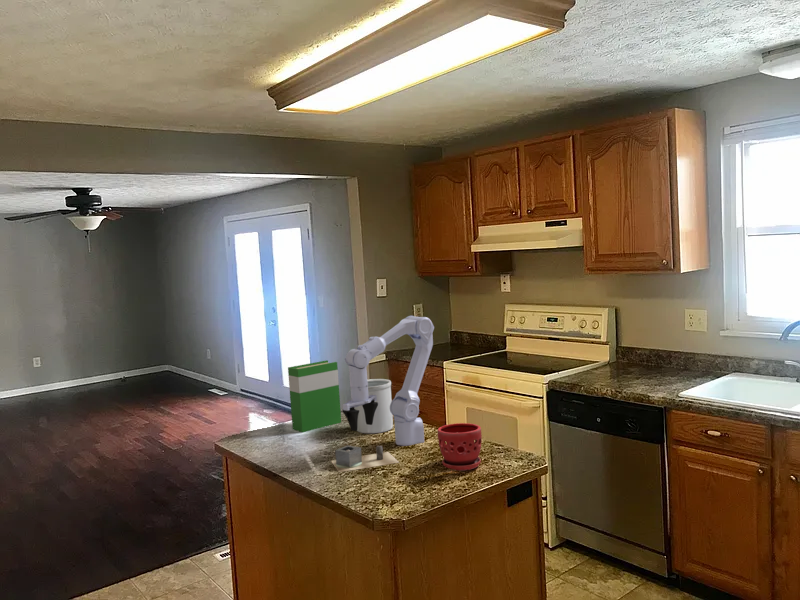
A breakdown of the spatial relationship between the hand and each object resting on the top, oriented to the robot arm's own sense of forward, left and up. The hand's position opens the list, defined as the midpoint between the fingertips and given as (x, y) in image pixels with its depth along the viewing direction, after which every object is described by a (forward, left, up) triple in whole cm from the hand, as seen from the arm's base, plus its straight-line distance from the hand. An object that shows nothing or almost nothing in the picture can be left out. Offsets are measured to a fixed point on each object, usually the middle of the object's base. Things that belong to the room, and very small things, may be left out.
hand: (361, 427), depth 216 cm
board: (+2, +9, -9) cm, 13 cm away
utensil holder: (-12, -30, -10) cm, 34 cm away
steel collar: (+7, +9, -8) cm, 14 cm away
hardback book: (+7, -46, -10) cm, 47 cm away
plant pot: (-24, +24, -10) cm, 36 cm away
